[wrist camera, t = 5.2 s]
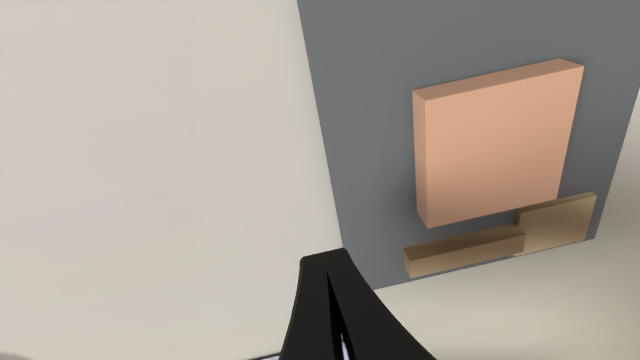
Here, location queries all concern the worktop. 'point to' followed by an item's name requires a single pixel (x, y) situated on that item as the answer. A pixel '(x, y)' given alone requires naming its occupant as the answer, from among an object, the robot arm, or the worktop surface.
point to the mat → (442, 67)
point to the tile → (493, 140)
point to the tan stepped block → (507, 236)
